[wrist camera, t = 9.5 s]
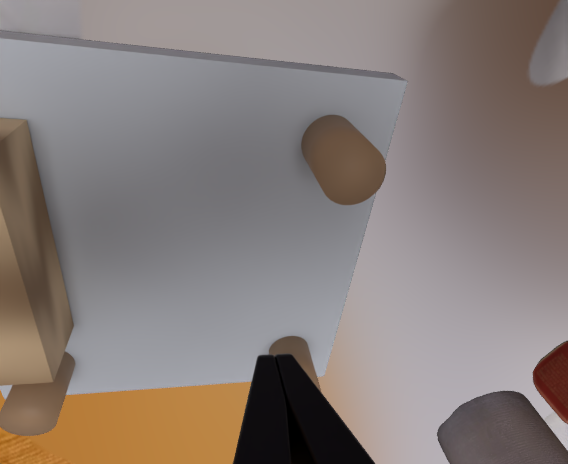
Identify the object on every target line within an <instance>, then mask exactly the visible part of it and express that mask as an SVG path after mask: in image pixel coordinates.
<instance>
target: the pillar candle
mask: <svg viewBox="0 0 568 464" xmlns="http://www.w3.org/2000/svg"><path fill="white" fill-rule="evenodd" d="M437 436H438V441H439V443H440V445H441V448H442V450H443V452H444V453H445V455H446V457H447V460H448V461H449V463H450V464H568V451H567V450H566V448H565V447H564V446H563V444H562V443H561V442H560V441H559V439H558V438H557V437H556V435H555V434H554V433H553V431H552V430H551V429H550V428H549V426H548V425H547V424H546V422H545V421H544V420H543V419H542V418H541V416H540V415H539V413H538V412H537V411H536V410H535V408H534V407H533V406H532V404H531V403H530V402H529V400H528V399H527V398H526V397H525V396H524V395H523V394H521V393H518V392H514V391H500V392H493V393H490V394H486V395H483V396H480V397H477V398H474V399H473V400H471V401H469V402H466V403H464V404H462V405H461V406H459V407H458V408H457V409H456V410H455V411H454V412H453V414H452V415H451V416H450V417H449V418H448V419H447V420H446V421H445V422H444V423H443V424H442V425H441V426H440V427H439V429H438V432H437Z"/></svg>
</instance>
